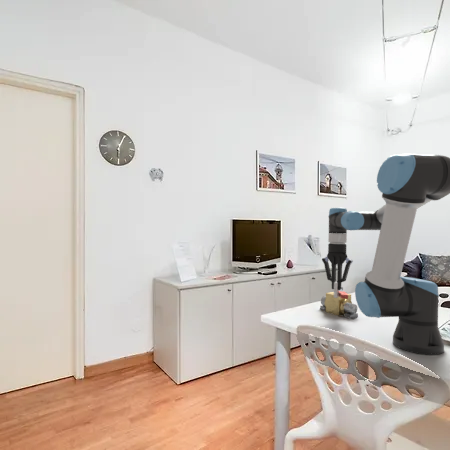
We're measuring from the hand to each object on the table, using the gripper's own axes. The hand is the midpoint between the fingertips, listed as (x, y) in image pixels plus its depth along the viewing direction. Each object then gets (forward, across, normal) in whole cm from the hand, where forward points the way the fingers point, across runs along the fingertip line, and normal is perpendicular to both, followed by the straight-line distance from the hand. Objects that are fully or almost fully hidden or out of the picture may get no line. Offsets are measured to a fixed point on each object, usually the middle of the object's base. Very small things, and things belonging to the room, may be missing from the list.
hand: (336, 297), depth 143 cm
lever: (-1, -1, -5) cm, 5 cm away
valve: (+10, +2, -12) cm, 15 cm away
